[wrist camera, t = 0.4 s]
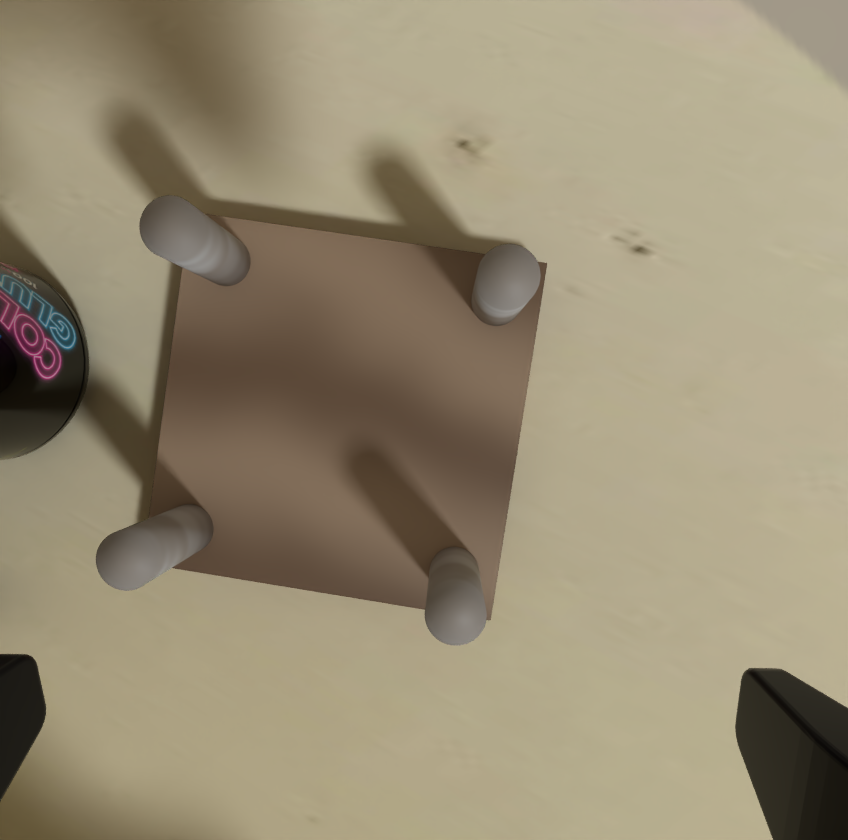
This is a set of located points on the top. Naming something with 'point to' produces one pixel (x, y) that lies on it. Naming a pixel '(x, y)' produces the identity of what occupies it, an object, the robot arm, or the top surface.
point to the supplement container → (37, 362)
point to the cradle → (336, 415)
